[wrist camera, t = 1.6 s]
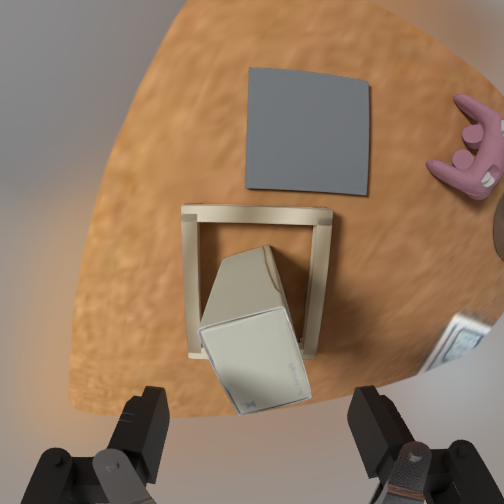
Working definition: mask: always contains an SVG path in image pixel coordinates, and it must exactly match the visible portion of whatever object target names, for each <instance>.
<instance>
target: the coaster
mask: <svg viewBox="0 0 504 504" xmlns="http://www.w3.org/2000/svg"><path fill="white" fill-rule="evenodd" d="M368 158H369V87H368V81H364V80H359V79H353V78H348V77H342V76H336V75H329V74H322V73H315V72H306V71H297V70H286V69H272V68H252V67H249V86H248V114H247V143H246V174H245V188H258V189H283V190H302V191H318V192H333V193H345V194H357V195H367V180H368Z"/></svg>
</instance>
